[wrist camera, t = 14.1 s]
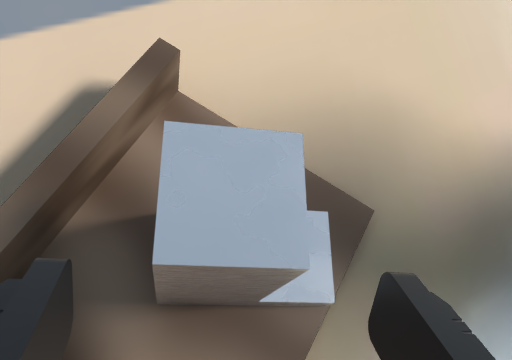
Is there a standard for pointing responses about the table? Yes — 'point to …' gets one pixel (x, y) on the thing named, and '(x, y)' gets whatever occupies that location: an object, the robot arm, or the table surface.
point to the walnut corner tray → (148, 234)
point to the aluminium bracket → (238, 221)
